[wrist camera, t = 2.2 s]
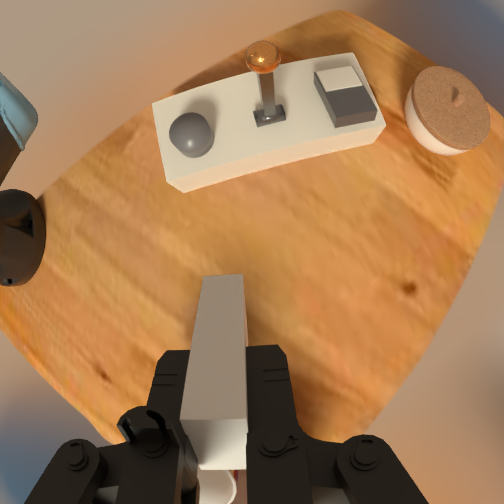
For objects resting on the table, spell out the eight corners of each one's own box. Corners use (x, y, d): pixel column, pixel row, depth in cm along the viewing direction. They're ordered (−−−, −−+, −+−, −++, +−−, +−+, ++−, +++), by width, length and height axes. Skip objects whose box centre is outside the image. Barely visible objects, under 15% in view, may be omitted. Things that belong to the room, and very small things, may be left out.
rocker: (334, 128, 29) (336, 116, 27) (313, 83, 31) (313, 70, 29) (374, 120, 29) (378, 108, 27) (350, 76, 31) (352, 64, 29)
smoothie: (258, 403, 37) (236, 512, 17) (242, 453, 37) (215, 562, 17) (193, 385, 38) (126, 475, 18) (182, 435, 38) (123, 531, 18)
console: (183, 193, 38) (166, 182, 32) (168, 121, 39) (151, 102, 33) (372, 143, 36) (386, 125, 30) (344, 75, 37) (352, 51, 31)
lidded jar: (393, 84, 36) (416, 46, 27) (460, 105, 35) (491, 76, 26) (392, 154, 36) (420, 126, 27) (462, 174, 35) (501, 155, 26)
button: (181, 162, 32) (172, 154, 29) (174, 130, 32) (165, 120, 30) (218, 151, 32) (212, 141, 29) (209, 118, 32) (203, 107, 29)
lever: (258, 133, 32) (245, 66, 19) (252, 112, 32) (235, 39, 19) (287, 126, 31) (288, 56, 19) (280, 105, 31) (277, 30, 19)
